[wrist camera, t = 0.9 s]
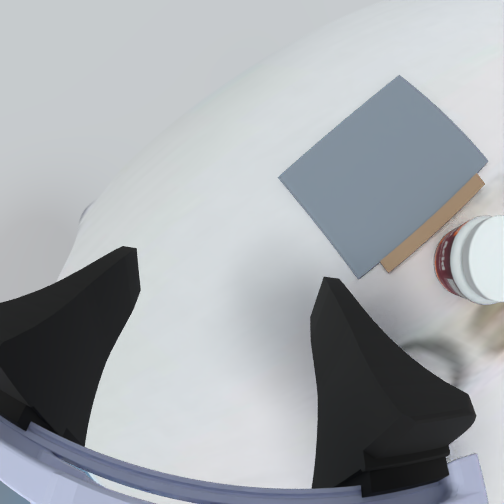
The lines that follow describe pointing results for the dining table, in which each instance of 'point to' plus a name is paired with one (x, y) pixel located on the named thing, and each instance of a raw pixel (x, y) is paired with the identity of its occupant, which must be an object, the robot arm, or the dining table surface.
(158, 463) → the dining table surface
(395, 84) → the slate mat
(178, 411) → the dining table surface
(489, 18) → the dining table surface
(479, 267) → the pill bottle
